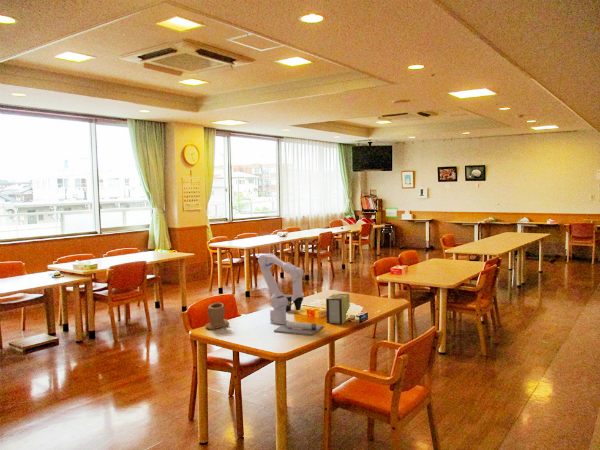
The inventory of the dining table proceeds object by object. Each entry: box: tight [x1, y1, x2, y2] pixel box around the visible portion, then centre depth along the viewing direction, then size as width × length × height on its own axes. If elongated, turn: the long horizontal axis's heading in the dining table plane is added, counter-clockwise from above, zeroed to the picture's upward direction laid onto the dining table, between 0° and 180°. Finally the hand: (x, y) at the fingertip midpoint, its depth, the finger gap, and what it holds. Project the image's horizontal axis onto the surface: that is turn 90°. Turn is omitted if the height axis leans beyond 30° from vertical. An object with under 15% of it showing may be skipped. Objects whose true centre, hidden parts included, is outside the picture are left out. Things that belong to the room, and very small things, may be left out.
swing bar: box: [286, 321, 317, 330], centre depth 295 cm, size 18×3×3 cm, turn 67°
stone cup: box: [204, 302, 230, 330], centre depth 307 cm, size 15×12×15 cm
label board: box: [273, 323, 324, 337], centre depth 297 cm, size 24×18×1 cm
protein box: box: [325, 292, 351, 325], centre depth 314 cm, size 10×15×16 cm
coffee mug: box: [284, 294, 294, 312], centre depth 344 cm, size 12×9×10 cm
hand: (298, 309), depth 304 cm, fingers closed
